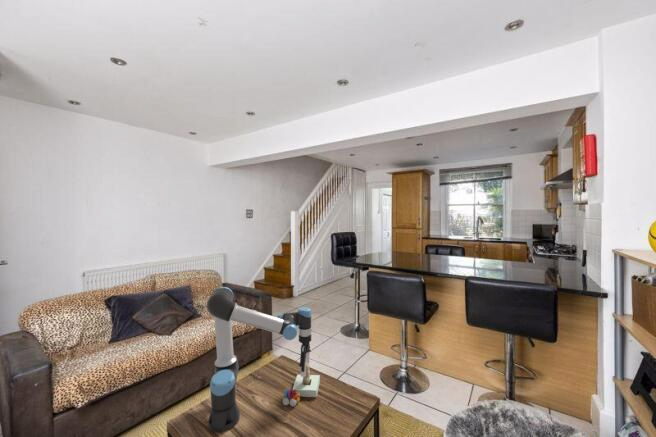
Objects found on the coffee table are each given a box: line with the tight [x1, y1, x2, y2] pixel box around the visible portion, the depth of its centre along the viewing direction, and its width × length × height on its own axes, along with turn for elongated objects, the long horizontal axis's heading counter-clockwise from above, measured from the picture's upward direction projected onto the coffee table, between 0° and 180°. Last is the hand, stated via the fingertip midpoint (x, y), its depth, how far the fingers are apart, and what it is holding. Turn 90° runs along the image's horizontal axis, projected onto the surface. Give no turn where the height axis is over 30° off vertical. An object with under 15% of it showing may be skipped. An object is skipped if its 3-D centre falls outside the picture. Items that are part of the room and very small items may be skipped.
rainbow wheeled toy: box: [282, 388, 301, 407], centre depth 153 cm, size 8×10×7 cm
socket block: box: [291, 374, 321, 398], centre depth 164 cm, size 14×14×4 cm
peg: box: [303, 363, 311, 385], centre depth 164 cm, size 4×4×14 cm
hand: (305, 369), depth 163 cm, fingers open, 13 cm apart
